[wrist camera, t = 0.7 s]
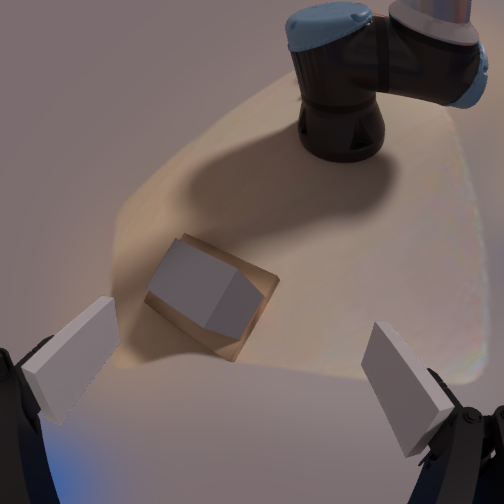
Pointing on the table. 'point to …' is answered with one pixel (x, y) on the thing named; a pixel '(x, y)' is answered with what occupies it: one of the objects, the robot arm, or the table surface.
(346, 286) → the table surface
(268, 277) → the oak board
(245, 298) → the block
